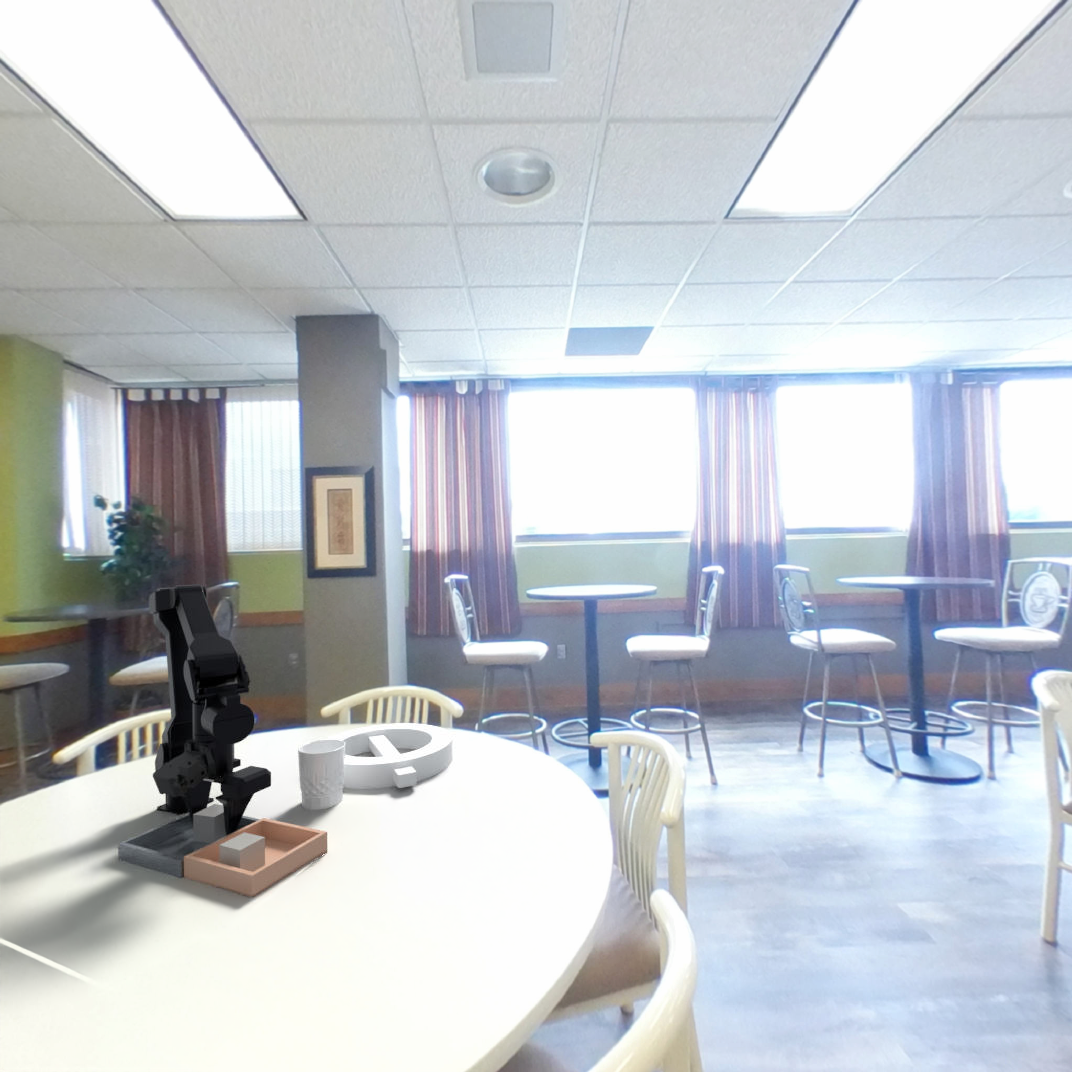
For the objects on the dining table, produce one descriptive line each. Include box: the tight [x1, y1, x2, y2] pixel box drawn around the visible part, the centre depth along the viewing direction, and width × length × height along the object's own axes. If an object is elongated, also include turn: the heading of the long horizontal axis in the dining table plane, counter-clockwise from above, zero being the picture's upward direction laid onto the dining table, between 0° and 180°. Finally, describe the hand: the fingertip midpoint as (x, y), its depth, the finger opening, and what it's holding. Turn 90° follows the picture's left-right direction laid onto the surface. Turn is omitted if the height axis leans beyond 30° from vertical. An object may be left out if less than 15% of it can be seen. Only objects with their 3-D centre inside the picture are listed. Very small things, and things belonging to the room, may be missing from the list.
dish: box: [183, 817, 328, 899], centre depth 84 cm, size 13×13×3 cm
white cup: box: [297, 739, 345, 811], centre depth 106 cm, size 8×8×10 cm
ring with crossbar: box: [324, 722, 454, 790], centre depth 126 cm, size 28×28×5 cm
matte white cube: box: [219, 832, 265, 872], centre depth 82 cm, size 4×4×4 cm
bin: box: [117, 813, 261, 879], centre depth 90 cm, size 14×14×2 cm
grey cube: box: [193, 803, 226, 843], centre depth 93 cm, size 4×4×4 cm
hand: (214, 831), depth 93 cm, fingers open, 7 cm apart
